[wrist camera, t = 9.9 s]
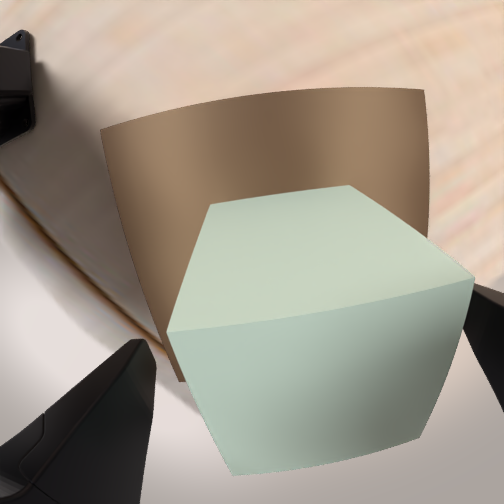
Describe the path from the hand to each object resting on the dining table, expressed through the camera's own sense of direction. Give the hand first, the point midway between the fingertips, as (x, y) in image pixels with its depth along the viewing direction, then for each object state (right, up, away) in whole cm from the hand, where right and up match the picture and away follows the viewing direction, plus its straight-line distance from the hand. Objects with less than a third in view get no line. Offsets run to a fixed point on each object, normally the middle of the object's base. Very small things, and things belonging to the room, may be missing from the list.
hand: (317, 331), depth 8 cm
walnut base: (0, +3, +8) cm, 8 cm away
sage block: (0, +2, +4) cm, 4 cm away
